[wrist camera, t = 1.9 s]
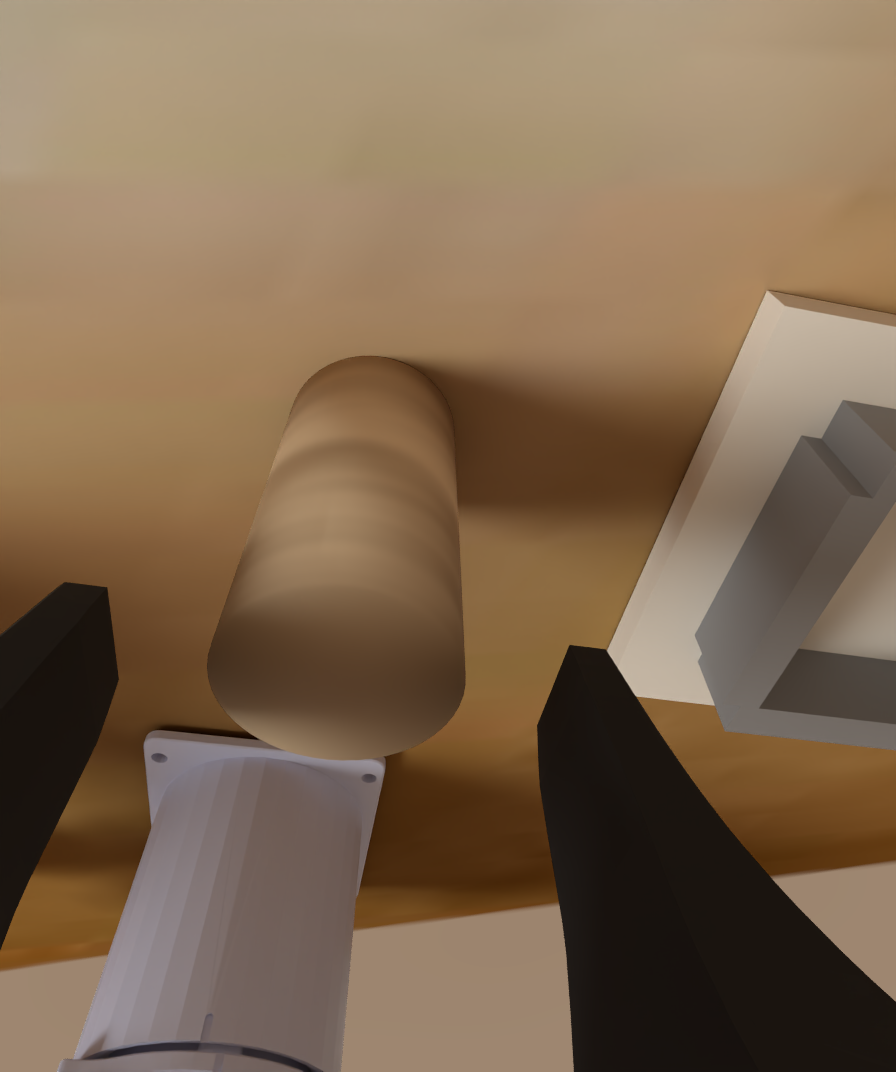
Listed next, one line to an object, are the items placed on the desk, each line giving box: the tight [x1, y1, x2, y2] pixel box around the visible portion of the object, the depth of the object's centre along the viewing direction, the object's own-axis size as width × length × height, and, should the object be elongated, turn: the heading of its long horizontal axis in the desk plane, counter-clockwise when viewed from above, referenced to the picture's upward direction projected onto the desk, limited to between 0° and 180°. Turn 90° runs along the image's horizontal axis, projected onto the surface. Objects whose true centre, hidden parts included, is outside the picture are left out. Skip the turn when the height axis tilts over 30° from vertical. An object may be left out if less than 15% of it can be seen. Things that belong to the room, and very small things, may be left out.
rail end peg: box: [207, 356, 465, 761], centre depth 15 cm, size 4×4×8 cm
